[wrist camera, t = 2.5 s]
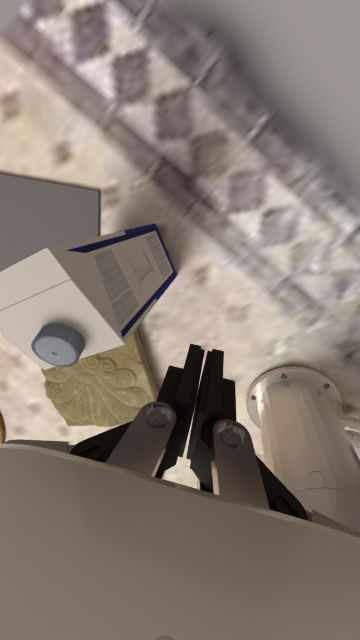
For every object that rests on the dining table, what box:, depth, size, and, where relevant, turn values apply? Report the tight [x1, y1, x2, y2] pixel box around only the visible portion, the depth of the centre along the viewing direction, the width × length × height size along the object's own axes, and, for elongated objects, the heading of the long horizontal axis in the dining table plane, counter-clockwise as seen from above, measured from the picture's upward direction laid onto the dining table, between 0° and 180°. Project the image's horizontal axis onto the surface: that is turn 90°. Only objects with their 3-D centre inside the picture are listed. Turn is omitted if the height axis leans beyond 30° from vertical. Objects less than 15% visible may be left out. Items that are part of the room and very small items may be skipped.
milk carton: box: [0, 224, 177, 370], centre depth 23 cm, size 7×7×20 cm
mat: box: [0, 174, 100, 272], centre depth 34 cm, size 22×14×1 cm, turn 81°
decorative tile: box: [41, 328, 159, 427], centre depth 40 cm, size 19×20×4 cm
